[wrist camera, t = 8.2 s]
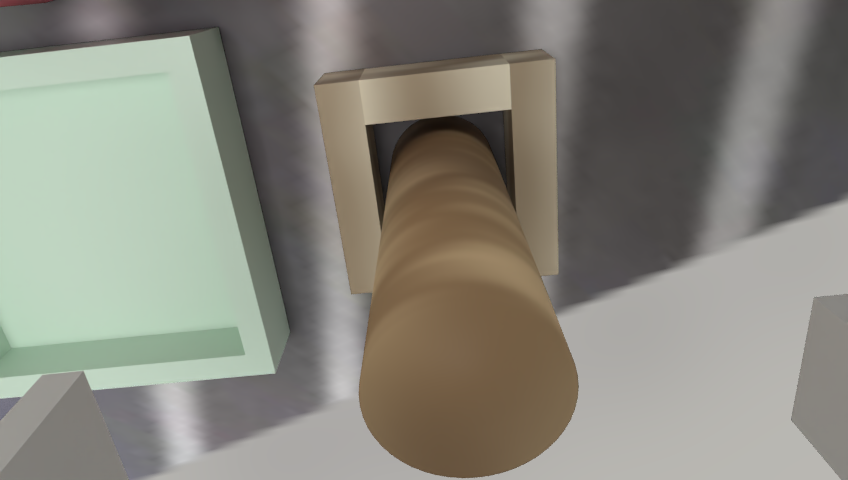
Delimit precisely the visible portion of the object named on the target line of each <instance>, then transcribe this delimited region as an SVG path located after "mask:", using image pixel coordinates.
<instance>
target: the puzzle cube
mask: <svg viewBox="0 0 848 480" xmlns="http://www.w3.org/2000/svg"><path fill="white" fill-rule="evenodd" d="M50 1H53V0H0V7H5V6H16V5H27V4H37V3H47V2H50Z"/></svg>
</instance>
